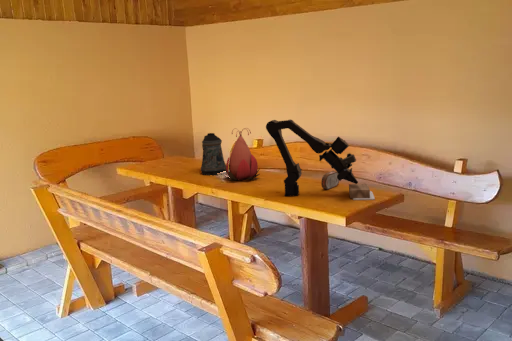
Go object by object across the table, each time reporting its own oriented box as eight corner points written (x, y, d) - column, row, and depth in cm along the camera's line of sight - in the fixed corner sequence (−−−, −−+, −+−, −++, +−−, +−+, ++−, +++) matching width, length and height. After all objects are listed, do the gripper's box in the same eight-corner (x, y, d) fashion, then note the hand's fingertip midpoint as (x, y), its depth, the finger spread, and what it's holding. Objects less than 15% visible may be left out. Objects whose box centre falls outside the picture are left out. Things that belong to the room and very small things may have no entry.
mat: (353, 200, 228) (353, 198, 228) (351, 192, 241) (351, 191, 241) (374, 199, 226) (374, 198, 226) (371, 192, 240) (371, 191, 240)
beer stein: (216, 176, 293) (214, 135, 288) (191, 174, 304) (189, 135, 299) (232, 171, 307) (229, 132, 302) (207, 169, 317) (205, 131, 312)
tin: (335, 184, 260) (335, 169, 258) (340, 185, 258) (340, 169, 256) (320, 190, 249) (320, 174, 247) (326, 191, 247) (325, 175, 245)
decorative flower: (266, 176, 288) (264, 126, 282) (248, 185, 268) (245, 131, 262) (234, 174, 298) (231, 126, 292) (214, 182, 278) (211, 131, 272)
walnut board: (350, 190, 228) (369, 190, 227) (349, 184, 240) (367, 184, 238) (350, 198, 229) (369, 198, 227) (349, 192, 240) (367, 191, 239)
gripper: (343, 152, 222) (368, 176, 221) (347, 146, 239) (370, 167, 238) (327, 169, 225) (351, 192, 225) (332, 161, 243) (354, 183, 242)
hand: (357, 183), depth 232 cm, fingers closed
